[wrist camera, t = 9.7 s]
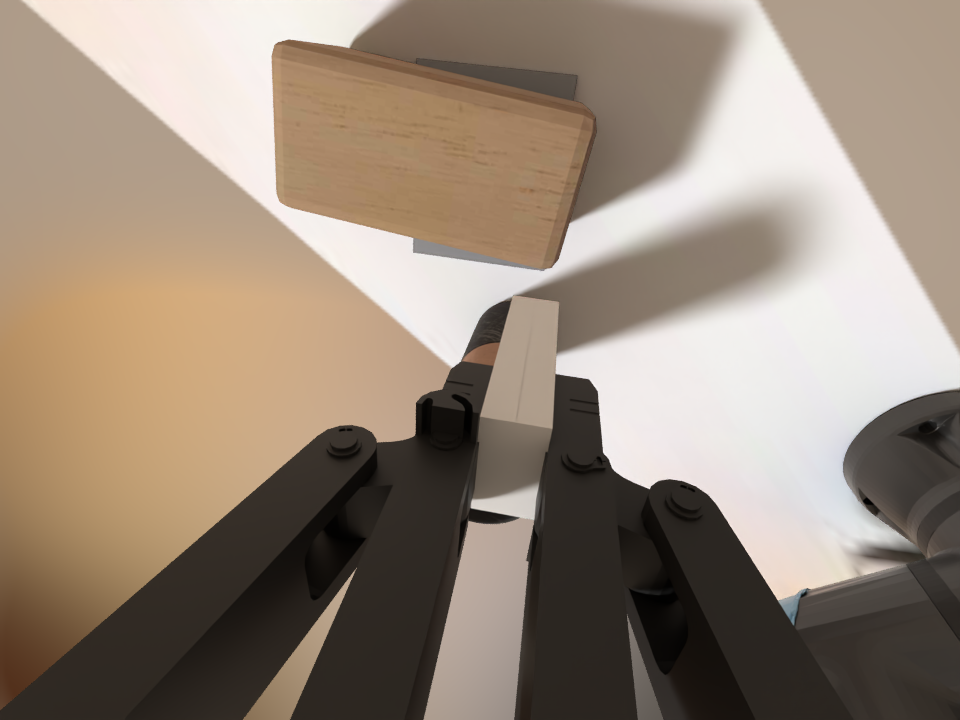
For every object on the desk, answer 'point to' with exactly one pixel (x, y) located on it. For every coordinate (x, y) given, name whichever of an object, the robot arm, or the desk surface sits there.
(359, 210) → the block
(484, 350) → the travel mug
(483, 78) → the mat
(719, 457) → the desk surface
